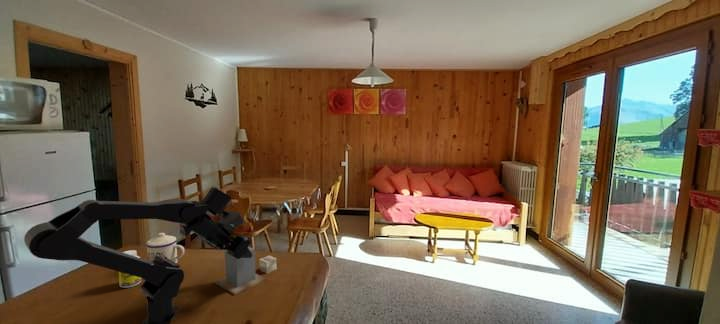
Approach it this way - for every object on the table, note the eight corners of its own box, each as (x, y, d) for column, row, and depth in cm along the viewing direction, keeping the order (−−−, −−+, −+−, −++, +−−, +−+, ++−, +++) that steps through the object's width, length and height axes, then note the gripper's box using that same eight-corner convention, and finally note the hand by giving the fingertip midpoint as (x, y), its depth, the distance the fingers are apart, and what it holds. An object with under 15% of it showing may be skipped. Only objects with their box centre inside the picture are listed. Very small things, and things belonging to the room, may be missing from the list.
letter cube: (266, 273, 103) (266, 262, 103) (259, 270, 105) (259, 259, 105) (276, 269, 106) (276, 258, 106) (269, 266, 109) (269, 255, 108)
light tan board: (234, 295, 90) (234, 293, 90) (215, 283, 96) (214, 281, 96) (266, 280, 99) (265, 278, 98) (246, 270, 105) (245, 268, 105)
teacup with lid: (141, 271, 103) (139, 238, 102) (158, 259, 112) (156, 228, 111) (177, 271, 104) (175, 238, 102) (191, 259, 113) (189, 229, 111)
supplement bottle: (118, 290, 91) (115, 258, 90) (120, 282, 96) (117, 251, 94) (141, 285, 94) (139, 253, 93) (142, 277, 99) (140, 247, 98)
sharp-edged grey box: (237, 287, 93) (236, 255, 92) (225, 280, 97) (224, 250, 95) (255, 278, 98) (254, 249, 97) (244, 273, 102) (243, 244, 101)
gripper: (244, 210, 86) (276, 237, 96) (210, 200, 96) (242, 225, 107) (218, 246, 80) (255, 270, 90) (185, 231, 91) (221, 254, 101)
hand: (243, 252), depth 97 cm, fingers open, 8 cm apart
